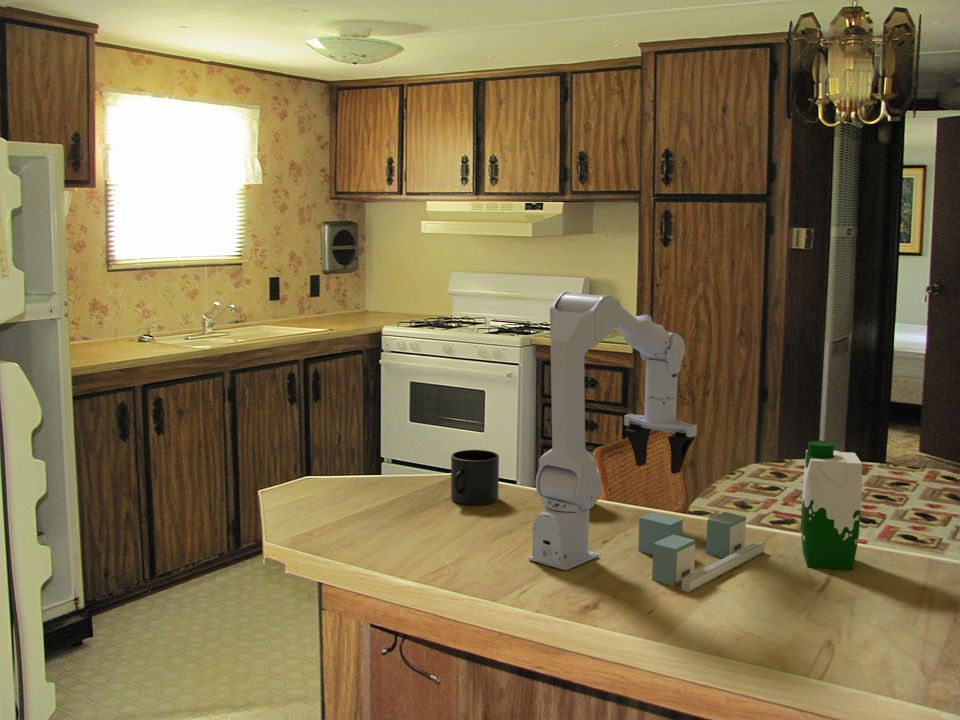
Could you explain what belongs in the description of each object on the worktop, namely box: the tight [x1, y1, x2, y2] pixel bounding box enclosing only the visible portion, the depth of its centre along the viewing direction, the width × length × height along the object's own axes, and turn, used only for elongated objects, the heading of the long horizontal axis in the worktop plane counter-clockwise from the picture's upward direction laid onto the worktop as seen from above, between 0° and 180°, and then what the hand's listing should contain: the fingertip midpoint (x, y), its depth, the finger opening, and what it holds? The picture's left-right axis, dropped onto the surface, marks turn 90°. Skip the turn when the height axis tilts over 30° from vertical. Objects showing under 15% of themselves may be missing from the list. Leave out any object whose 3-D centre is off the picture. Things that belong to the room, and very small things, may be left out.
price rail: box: [681, 540, 766, 593], centre depth 166 cm, size 25×1×2 cm, turn 138°
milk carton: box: [800, 440, 863, 571], centre depth 169 cm, size 9×9×20 cm
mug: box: [450, 449, 500, 507], centre depth 204 cm, size 9×12×9 cm
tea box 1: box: [637, 512, 684, 556], centre depth 175 cm, size 6×4×6 cm
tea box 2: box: [651, 535, 696, 587], centre depth 163 cm, size 6×4×6 cm
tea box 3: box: [705, 511, 747, 558], centre depth 175 cm, size 6×4×6 cm
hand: (658, 468), depth 191 cm, fingers open, 7 cm apart
